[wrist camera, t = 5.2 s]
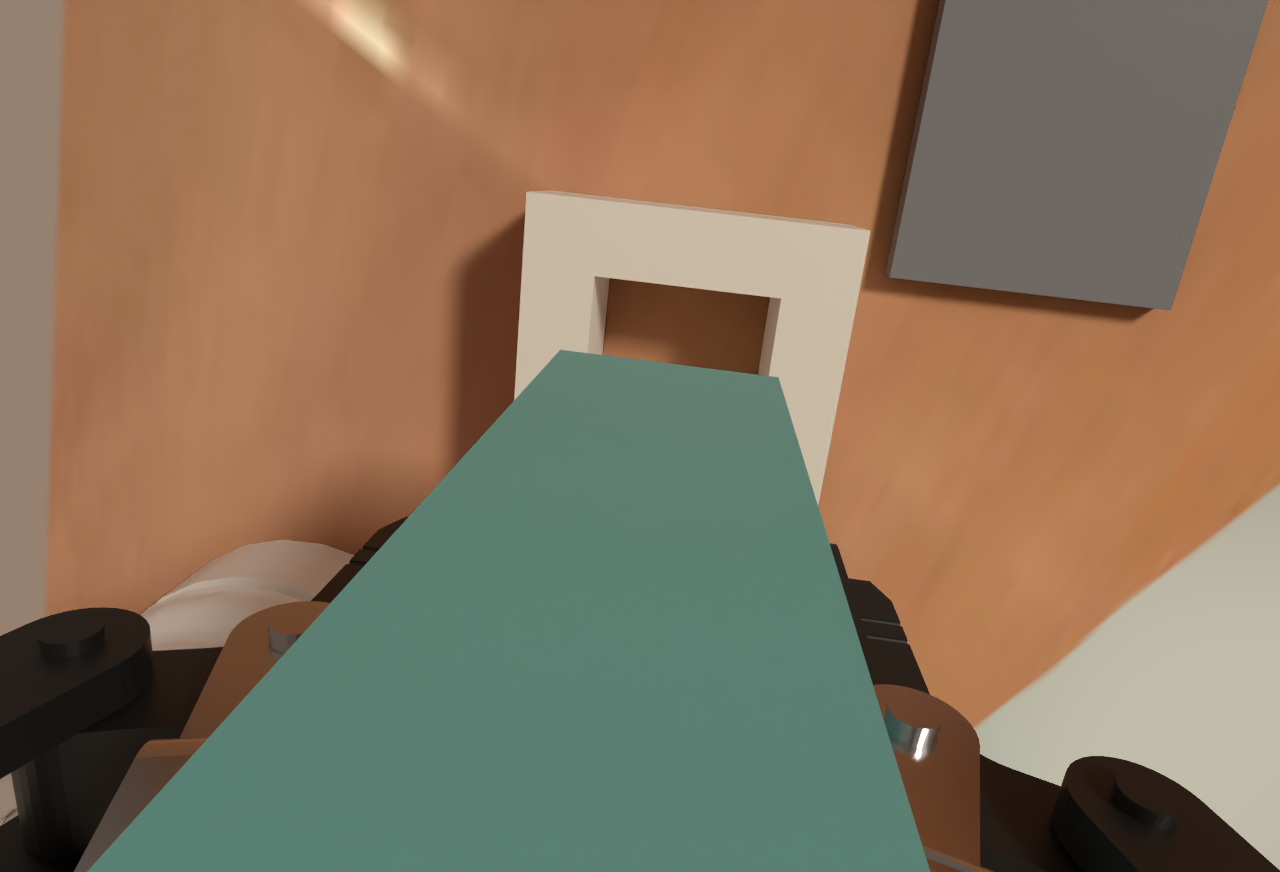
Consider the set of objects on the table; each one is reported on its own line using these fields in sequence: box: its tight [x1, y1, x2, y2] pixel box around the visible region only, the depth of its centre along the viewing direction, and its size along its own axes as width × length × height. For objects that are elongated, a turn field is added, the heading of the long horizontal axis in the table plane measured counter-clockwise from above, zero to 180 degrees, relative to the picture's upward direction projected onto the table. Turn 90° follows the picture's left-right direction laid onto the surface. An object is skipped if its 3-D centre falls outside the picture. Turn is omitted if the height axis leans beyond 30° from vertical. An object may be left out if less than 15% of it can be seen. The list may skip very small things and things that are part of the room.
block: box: [87, 350, 930, 872], centre depth 10 cm, size 4×4×13 cm
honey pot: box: [0, 540, 354, 825], centre depth 26 cm, size 13×13×18 cm
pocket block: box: [514, 191, 870, 504], centre depth 26 cm, size 10×10×4 cm
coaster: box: [885, 0, 1268, 310], centre depth 25 cm, size 9×9×1 cm
